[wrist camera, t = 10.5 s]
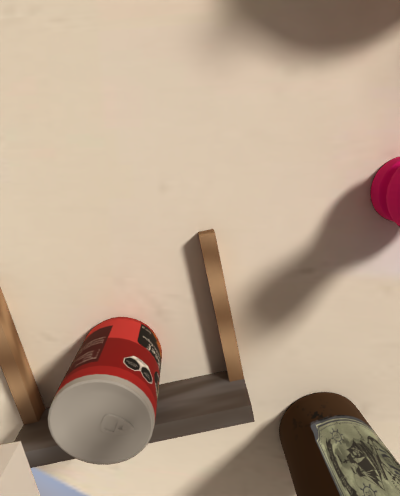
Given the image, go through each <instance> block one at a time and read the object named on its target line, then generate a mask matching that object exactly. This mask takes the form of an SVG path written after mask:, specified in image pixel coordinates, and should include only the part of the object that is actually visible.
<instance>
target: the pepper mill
mask: <svg viewBox="0 0 400 496" xmlns="http://www.w3.org/2000/svg"><path fill="white" fill-rule="evenodd" d="M371 201H372V204H373V206H374V208H375V210H376V211H377V212H378V213H379V214H380V215H381V216H382V217H384V218H385V219H388V220H391V221H394V222H395V223H396V224H397V225H398V226H400V157H396V158H394V159H392V160H390V161H389V162H387V163H386V164H384V165H383V166H382V167H381V168H380V169H379V171H378V172H377V174H376V175H375V177H374V179H373V182H372V186H371Z"/></svg>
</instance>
